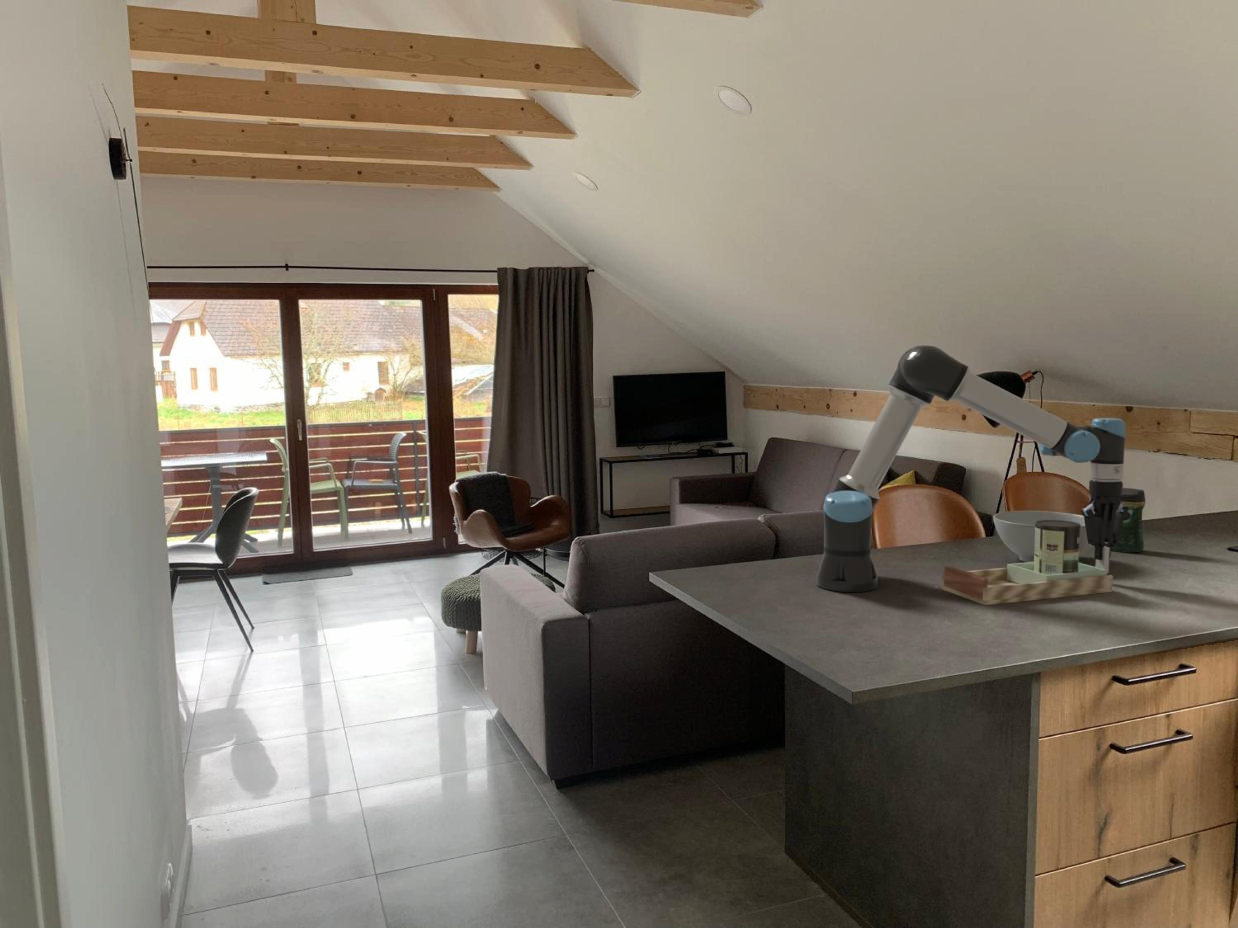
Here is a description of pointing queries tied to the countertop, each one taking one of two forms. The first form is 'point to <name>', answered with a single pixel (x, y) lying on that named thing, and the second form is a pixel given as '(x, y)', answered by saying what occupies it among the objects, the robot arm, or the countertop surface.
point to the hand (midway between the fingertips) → (1101, 571)
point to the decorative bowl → (1030, 529)
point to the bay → (1016, 586)
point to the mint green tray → (1027, 575)
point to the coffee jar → (1131, 521)
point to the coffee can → (1056, 546)
